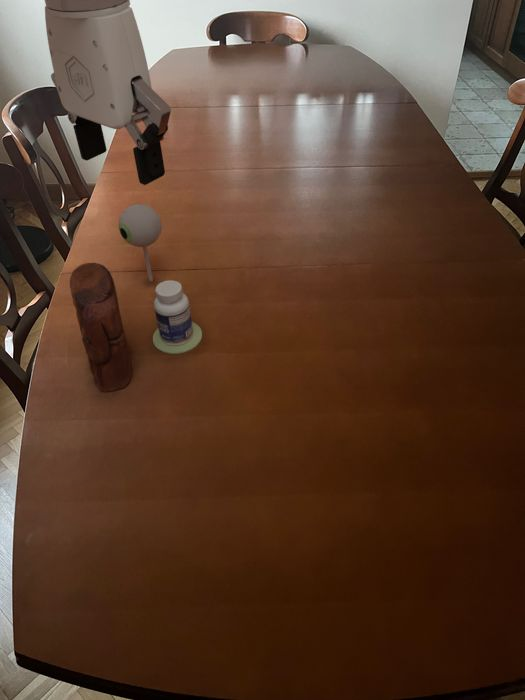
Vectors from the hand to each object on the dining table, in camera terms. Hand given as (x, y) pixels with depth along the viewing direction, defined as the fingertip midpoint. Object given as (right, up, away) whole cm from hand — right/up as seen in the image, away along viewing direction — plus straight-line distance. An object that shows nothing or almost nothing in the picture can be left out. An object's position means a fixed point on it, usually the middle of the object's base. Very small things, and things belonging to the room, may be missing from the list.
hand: (122, 167), depth 65 cm
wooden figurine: (-8, -23, +26) cm, 36 cm away
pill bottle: (+2, -18, +31) cm, 36 cm away
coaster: (+2, -18, +31) cm, 36 cm away
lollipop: (-5, -8, +42) cm, 43 cm away
